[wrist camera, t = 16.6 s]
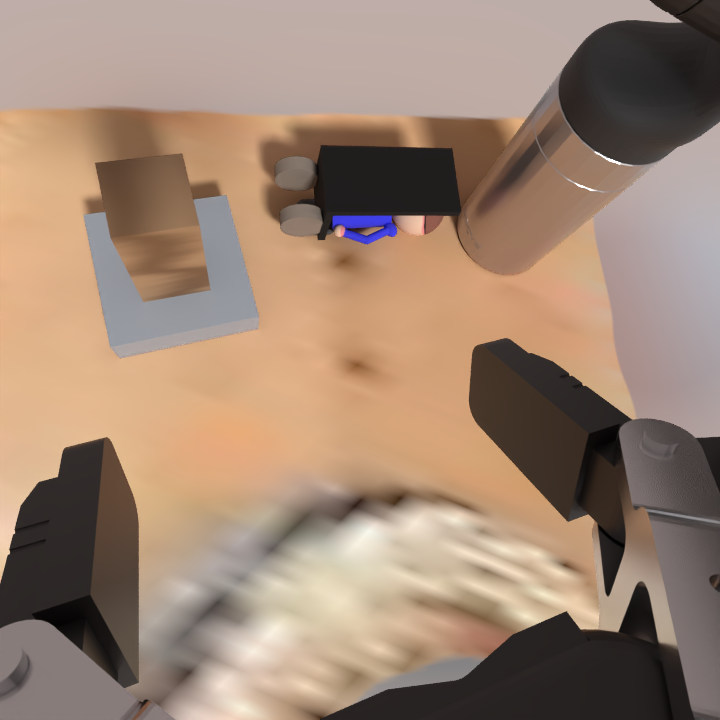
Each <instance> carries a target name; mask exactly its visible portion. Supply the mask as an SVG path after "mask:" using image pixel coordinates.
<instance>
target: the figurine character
mask: <svg viewBox="0 0 720 720" xmlns="http://www.w3.org/2000/svg"><path fill="white" fill-rule="evenodd" d="M274 169H275V182H276V184H277V185H278V186H279V187H280V188H282V189H285V190H289V191H304V190H308V189H310V188H312V187H314V197H315V199H305V200H300V201H299V202H298V203H297V204H296V205H291V206H288V207H286V208H284V209H282V210H281V212H280V229H281V231H282V232H284V233H285V234H288V235H291V236H298V237H304V236H311V235H317V236H318V240H325V237H326V235H329V234H331V233H333V232H334V234H335V235H336V236H337V237H342V236H343V237H346V238H349V239H352V240H355V241H358V242H361V243H364V244H369V243H371V242H373V241H375V240H377V239H380V238H382V237H384V236H386V235H388V236H390V237H393V236H395V235H396V234H397V228H396V226H395V225H394V224H393V223H391V222H392V217H393V220H394V222H395V224H396V225H397V226H398V227H399V228H400V229H401V230H402V231H403V232H405V233H407V234H410V235H415V236H420V235H425V234H428V233H430V232H431V231H433V230H434V229H435V228H436V227H437V226H438V225H439V224H440V222H441V221H442V219H443V216H459V215H460V213H461V207H460V200H459V193H458V186H457V179H456V172H455V165H454V158H453V151H452V148H417V147H375V146H333V145H321V148H320V154H319V158H318V162H317V165H316V163H315V162H314V161H313V160H311V159H309V158H306V157H300V156H291V157H286V158H283V159H281V160H279V161H278V162H277V163H276V164H275V167H274ZM330 226H331V228H330ZM382 226H384V228H383V229H381V230H378V231H376V232H374V233H372V234H370V235H368V236H365V235H362V234H359V233H356V232H353V231H350V230H347V228H365V227H382ZM333 229H334V230H333Z"/></svg>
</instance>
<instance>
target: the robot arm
mask: <svg viewBox="0 0 720 720" xmlns="http://www.w3.org/2000/svg"><path fill="white" fill-rule="evenodd" d="M650 1H651V2H652V3H654V4H655V5H656V6H657V7H659V8H661V9H662V10H664V11H665V12H669V13H670V14H671V15H673V16H674V17H676V18H677V19H679V20H681V21H682V23H662V22H650V21H638V20H626V21H618V22H614V23H611V24H607V25H605V26H603V27H601V28H599V29H597V30H596V31H594V32H593V33H592V34H591V35H590V36H588V37H587V38H586V40H585V41H584V42H583V43H582V44H581V45H580V46H579V47H578V49H577V50H576V52H575V53H574V54H573V56H572V57H571V58H570V60H569V61H568V63H567V64H566V65H565V67H564V68H563V69H562V71H561V72H560V73H559V75H558V76H557V78H556V79H555V81H554V82H553V83H552V85H551V86H550V87H549V89H548V90H547V91H546V93H545V94H544V96H543V97H542V98H541V100H540V101H539V103H538V104H537V105H536V107H535V108H534V109H533V111H532V112H531V113H530V115H529V116H528V118H527V119H526V120H525V122H524V123H523V124H522V126H521V127H520V128H519V130H518V131H517V133H516V134H515V135H514V137H513V138H512V139H511V141H510V142H509V144H508V145H507V146H506V148H505V149H504V150H503V152H502V153H501V154H500V156H499V157H498V159H497V160H496V161H495V163H494V164H493V165H492V167H491V168H490V170H489V171H488V172H487V174H486V175H485V176H484V178H483V179H482V180H481V182H480V183H479V184H478V186H477V187H476V189H475V190H474V191H473V193H472V194H471V195H470V197H469V198H468V199H467V201H466V202H465V204H464V205H463V206H462V208H461V213H460V215H459V216H458V221H457V227H458V234H459V238H460V241H461V243H462V245H463V247H464V249H465V250H466V252H467V253H468V255H469V256H470V257H471V258H472V259H473V260H474V261H475V262H476V263H477V264H479V265H480V266H482V267H483V268H485V269H487V270H489V271H492V272H494V273H498V274H503V275H514V274H518V273H522V272H524V271H526V270H528V269H529V268H531V267H532V266H533V265H534V264H536V263H537V262H538V261H539V260H540V259H542V258H543V257H544V256H545V255H547V254H548V253H549V252H550V251H551V250H553V249H554V248H555V247H557V246H558V245H559V244H560V243H561V242H563V241H564V240H565V239H566V238H567V237H569V236H570V235H571V234H572V233H574V232H575V231H576V230H577V229H578V228H580V227H581V226H582V225H583V224H584V223H586V222H587V221H588V220H589V219H591V218H592V217H593V216H594V215H595V214H597V213H598V212H599V211H600V210H601V209H603V208H604V207H605V206H606V205H608V204H609V203H610V202H611V201H612V200H614V199H615V198H616V197H617V196H618V195H620V194H621V193H622V192H623V191H624V190H626V189H627V188H628V187H629V186H630V185H632V184H633V183H634V182H635V181H636V180H637V179H639V178H640V177H641V176H642V175H644V174H645V173H646V172H647V171H649V170H650V169H651V168H652V167H653V166H654V165H656V164H657V163H658V162H659V161H661V160H662V159H663V158H664V157H665V156H667V155H668V154H669V153H670V152H672V151H673V150H674V149H675V148H677V147H679V146H682V145H684V144H686V143H689V142H691V141H692V140H694V139H696V138H698V137H700V136H701V135H702V134H704V133H705V132H707V131H708V130H709V129H711V128H712V127H713V126H715V125H716V124H717V123H719V122H720V0H650ZM469 405H470V410H471V413H472V415H473V418H474V420H475V421H476V423H477V424H478V425H479V426H480V427H481V428H482V430H483V431H484V432H485V433H486V434H487V435H488V436H489V437H490V438H491V439H492V440H493V441H494V443H495V444H496V445H497V446H498V447H499V448H500V449H501V450H502V451H503V452H504V453H505V454H506V456H507V457H508V458H509V459H510V460H511V461H512V462H513V463H514V464H515V465H516V466H517V467H518V469H519V470H520V471H521V472H522V473H523V474H524V475H525V476H526V477H527V478H528V479H529V480H530V482H531V483H532V484H533V485H534V486H535V487H536V488H537V489H538V490H539V491H540V492H541V493H542V494H543V496H544V497H545V498H546V499H547V500H548V501H549V502H550V503H551V504H552V505H553V506H554V507H555V509H556V510H557V511H558V512H559V513H560V514H561V515H562V516H563V517H564V518H565V519H566V520H567V522H569V521H571V520H574V519H577V518H579V517H582V516H585V515H587V514H589V515H590V516H591V517H592V518H593V519H594V520H595V521H594V525H593V528H592V537H593V547H594V557H595V567H596V577H597V587H598V597H599V609H600V615H599V627H598V630H586V629H583V630H580V628H579V627H578V626H577V624H576V623H575V622H574V621H573V619H572V618H571V617H570V615H569V614H568V613H567V611H566V612H564V613H561V614H559V615H557V616H555V617H552V618H550V619H548V620H545V621H543V622H541V623H538V624H536V625H534V626H532V627H529V628H527V629H525V630H522V631H520V632H518V633H516V634H513V635H512V636H511V637H509V638H508V639H507V640H506V641H505V642H504V643H503V644H502V645H500V646H499V647H498V648H497V649H496V650H495V651H494V652H493V653H491V654H490V655H489V656H488V657H487V658H486V659H485V660H484V661H482V662H481V663H480V664H479V665H478V666H477V667H476V668H475V669H474V670H472V671H471V672H470V673H469V674H468V675H466V676H465V677H464V678H462V679H459V680H456V681H449V682H441V683H434V684H426V685H418V686H411V687H403V688H396V689H388V690H385V691H383V692H381V693H379V694H376V695H374V696H372V697H369V698H367V699H365V700H362V701H360V702H358V703H356V704H353V705H351V706H349V707H346V708H344V709H342V710H340V711H337V712H335V713H333V714H330V715H328V716H326V717H324V718H321V719H320V720H720V437H709V438H695V437H694V436H693V435H691V434H690V433H688V432H687V431H686V430H684V429H682V428H681V427H678V426H676V425H674V424H671V423H668V422H665V421H661V420H655V419H635V420H632V419H630V418H629V417H628V416H626V415H625V414H624V413H622V412H621V411H619V410H618V409H617V408H615V407H614V406H613V405H611V404H610V403H609V402H607V401H606V400H605V399H603V398H602V397H600V396H599V395H598V394H596V393H595V392H594V391H592V390H591V389H590V388H588V387H587V386H583V385H582V383H581V382H580V381H579V380H577V379H576V378H575V377H573V376H569V373H568V372H566V371H565V370H564V369H562V368H561V367H560V366H558V365H557V364H555V363H554V362H553V361H550V360H548V359H545V358H543V357H540V356H538V355H535V354H532V353H527V352H526V351H525V350H523V349H522V348H521V347H520V346H518V345H517V344H516V343H514V342H513V341H512V340H510V339H507V338H504V339H500V340H496V341H492V342H488V343H484V344H480V345H477V346H476V347H475V348H474V350H473V353H472V364H471V377H470V391H469ZM9 550H10V554H9V555H8V556H7V560H6V564H5V568H4V572H3V575H2V579H1V583H0V720H175V719H173V718H172V717H171V716H170V715H169V714H168V713H166V712H165V711H164V710H163V709H162V708H160V707H159V706H158V705H156V704H155V703H153V702H152V701H150V700H144V701H143V702H140V701H139V700H137V699H136V698H135V697H133V696H132V695H131V694H130V693H129V692H128V691H127V690H125V689H124V688H126V687H128V686H131V685H134V684H136V683H139V524H138V514H137V508H136V504H135V500H134V497H133V494H132V491H131V489H130V486H129V484H128V481H127V479H126V476H125V474H124V471H123V469H122V466H121V464H120V461H119V459H118V457H117V454H116V452H115V449H114V447H113V444H112V442H111V441H110V439H109V438H107V437H106V438H102V439H98V440H94V441H90V442H86V443H82V444H78V445H74V446H70V447H66V448H64V450H63V453H62V458H61V464H60V469H59V474H58V477H56V478H52V479H49V480H45V481H41V482H39V483H38V484H37V485H36V486H35V488H34V489H33V490H32V492H31V493H30V494H29V496H28V497H27V498H26V500H25V501H24V502H23V504H22V505H21V507H20V511H19V514H18V518H17V522H16V526H15V534H13V537H12V541H11V545H10V549H9Z"/></svg>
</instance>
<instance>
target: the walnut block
mask: <svg viewBox="0 0 720 720" xmlns="http://www.w3.org/2000/svg"><path fill="white" fill-rule="evenodd" d="M95 165H96V169H97V174H98V179H99V184H100V189H101V194H102V199H103V204H104V209H105V214H106V219H107V223H108V228H109V233H110V238H111V240H112V242H113V244H114V246H115V248H116V250H117V252H118V254H119V256H120V258H121V259H122V261H123V263H124V265H125V267H126V269H127V271H128V273H129V275H130V277H131V279H132V281H133V283H134V285H135V287H136V289H137V290H138V292H139V294H140V296H141V298H142V300H143V302H148V301H154V300H159V299H165V298H170V297H176V296H181V295H187V294H192V293H198V292H203V291H209V290H210V284H209V278H208V272H207V266H206V260H205V254H204V248H203V242H202V236H201V231H200V225H199V221H198V217H197V213H196V208H195V204H194V200H193V196H192V192H191V188H190V184H189V180H188V176H187V172H186V167H185V163H184V159H183V155H182V154H173V155H164V156H155V157H145V158H136V159H127V160H118V161H108V162H99V163H95Z"/></svg>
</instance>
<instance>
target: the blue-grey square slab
mask: <svg viewBox="0 0 720 720" xmlns="http://www.w3.org/2000/svg"><path fill="white" fill-rule="evenodd" d="M194 204H195V208H196V213H197V217H198V221H199V225H200V231H201V236H202V242H203V248H204V254H205V260H206V266H207V272H208V278H209V284H210V290H209V291H203V292H198V293H192V294H187V295H181V296H176V297H170V298H165V299H159V300H154V301H148V302H143V300H142V298H141V296H140V294H139V292H138V290H137V289H136V287H135V285H134V283H133V281H132V279H131V277H130V275H129V273H128V271H127V269H126V267H125V265H124V263H123V261H122V259H121V258H120V256H119V254H118V252H117V250H116V248H115V246H114V244H113V242H112V240H111V238H110V233H109V228H108V223H107V219H106V214H105V212H100V213H93V214H86V215H84V220H85V225H86V230H87V235H88V240H89V244H90V249H91V254H92V259H93V264H94V269H95V274H96V279H97V284H98V289H99V294H100V299H101V304H102V309H103V314H104V319H105V324H106V329H107V333H108V338H109V343H110V348H111V349H112V350H113V351H114V352H115V353H116V354H117V356H118V357H119V358H124V357H128V356H133V355H138V354H142V353H147V352H152V351H156V350H161V349H166V348H171V347H175V346H180V345H185V344H189V343H194V342H199V341H203V340H208V339H213V338H217V337H222V336H227V335H232V334H236V333H241V332H246V331H250V330H255V329H258V324H259V315H258V311H257V307H256V303H255V300H254V296H253V292H252V289H251V285H250V281H249V277H248V274H247V270H246V266H245V262H244V259H243V255H242V251H241V247H240V244H239V240H238V236H237V232H236V229H235V225H234V221H233V217H232V214H231V210H230V206H229V202H228V199H227V195H223V196H216V197H208V198H201V199H194Z"/></svg>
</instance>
